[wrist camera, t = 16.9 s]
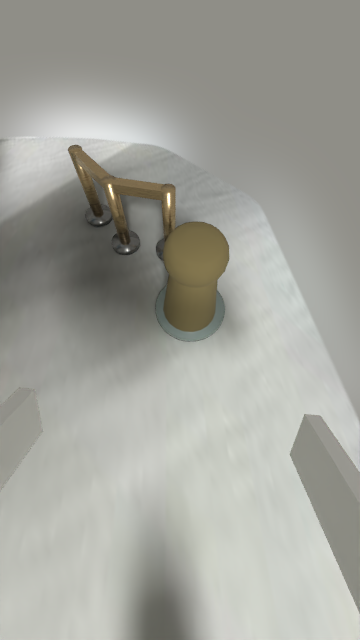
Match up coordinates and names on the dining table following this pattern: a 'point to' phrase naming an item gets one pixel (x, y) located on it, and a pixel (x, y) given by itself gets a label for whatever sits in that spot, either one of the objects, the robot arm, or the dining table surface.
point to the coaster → (190, 335)
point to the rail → (102, 214)
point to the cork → (193, 274)
